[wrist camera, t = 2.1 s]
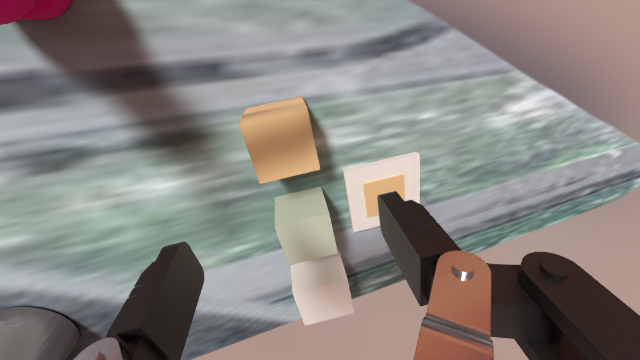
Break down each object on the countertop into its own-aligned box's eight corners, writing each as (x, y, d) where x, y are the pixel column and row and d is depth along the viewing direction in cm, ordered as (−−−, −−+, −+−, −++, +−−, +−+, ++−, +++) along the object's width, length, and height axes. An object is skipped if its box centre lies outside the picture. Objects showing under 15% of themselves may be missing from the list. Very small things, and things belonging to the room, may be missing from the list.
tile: (416, 212, 31) (420, 217, 30) (351, 228, 31) (354, 233, 30) (415, 151, 27) (420, 155, 26) (342, 169, 27) (344, 173, 26)
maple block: (312, 147, 26) (320, 169, 21) (262, 159, 25) (260, 183, 21) (301, 95, 23) (307, 108, 19) (246, 108, 23) (238, 124, 19)
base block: (344, 278, 35) (354, 312, 31) (301, 290, 35) (305, 325, 31) (337, 246, 32) (347, 278, 28) (290, 258, 32) (292, 292, 28)
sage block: (328, 222, 30) (337, 253, 26) (286, 232, 30) (288, 265, 26) (320, 186, 28) (329, 213, 23) (274, 197, 28) (274, 226, 23)
